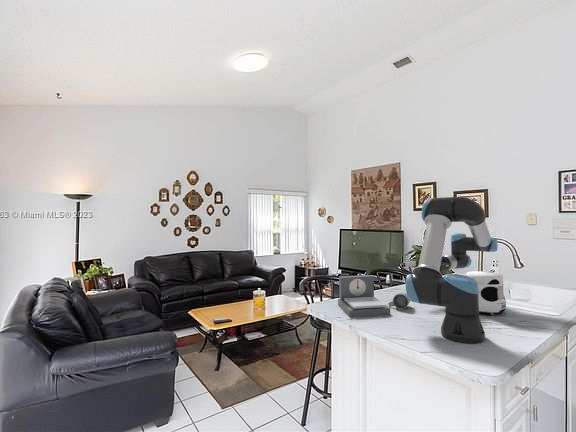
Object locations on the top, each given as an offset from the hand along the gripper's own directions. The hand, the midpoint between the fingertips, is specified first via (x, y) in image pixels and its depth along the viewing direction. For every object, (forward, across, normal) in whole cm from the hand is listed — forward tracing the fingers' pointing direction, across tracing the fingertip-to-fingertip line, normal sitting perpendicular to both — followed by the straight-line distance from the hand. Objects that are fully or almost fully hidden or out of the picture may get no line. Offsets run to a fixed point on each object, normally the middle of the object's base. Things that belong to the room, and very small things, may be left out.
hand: (414, 266), depth 172 cm
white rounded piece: (-21, -23, -20) cm, 37 cm away
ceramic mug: (+10, 0, -20) cm, 23 cm away
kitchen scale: (+29, +5, -20) cm, 36 cm away
